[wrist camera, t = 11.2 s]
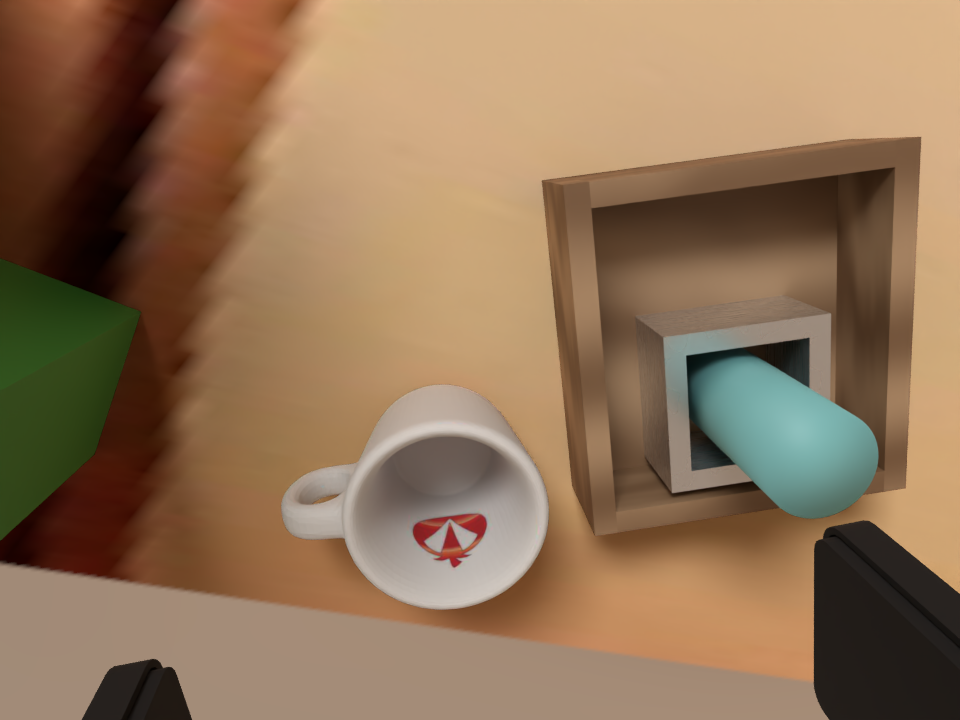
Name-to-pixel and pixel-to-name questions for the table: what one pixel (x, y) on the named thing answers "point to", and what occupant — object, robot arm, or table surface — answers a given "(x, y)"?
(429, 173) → the table surface
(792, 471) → the plug
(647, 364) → the socket
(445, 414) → the cup
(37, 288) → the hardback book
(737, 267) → the box
